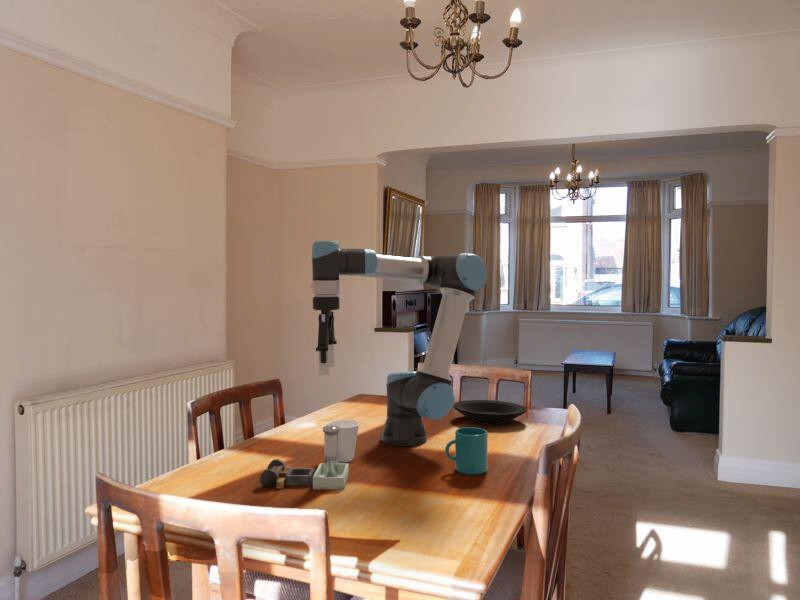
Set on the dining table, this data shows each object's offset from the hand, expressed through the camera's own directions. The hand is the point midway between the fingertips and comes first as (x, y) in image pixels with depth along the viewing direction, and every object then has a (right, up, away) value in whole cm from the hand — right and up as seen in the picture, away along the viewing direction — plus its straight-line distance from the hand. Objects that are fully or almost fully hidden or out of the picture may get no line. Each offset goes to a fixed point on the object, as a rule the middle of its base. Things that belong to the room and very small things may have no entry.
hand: (327, 370), depth 170 cm
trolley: (-9, -29, -9) cm, 32 cm away
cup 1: (+4, -28, +10) cm, 30 cm away
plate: (+55, -26, +58) cm, 84 cm away
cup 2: (+39, -29, 0) cm, 49 cm away
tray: (+2, -29, -9) cm, 30 cm away
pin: (+2, -28, -9) cm, 30 cm away
